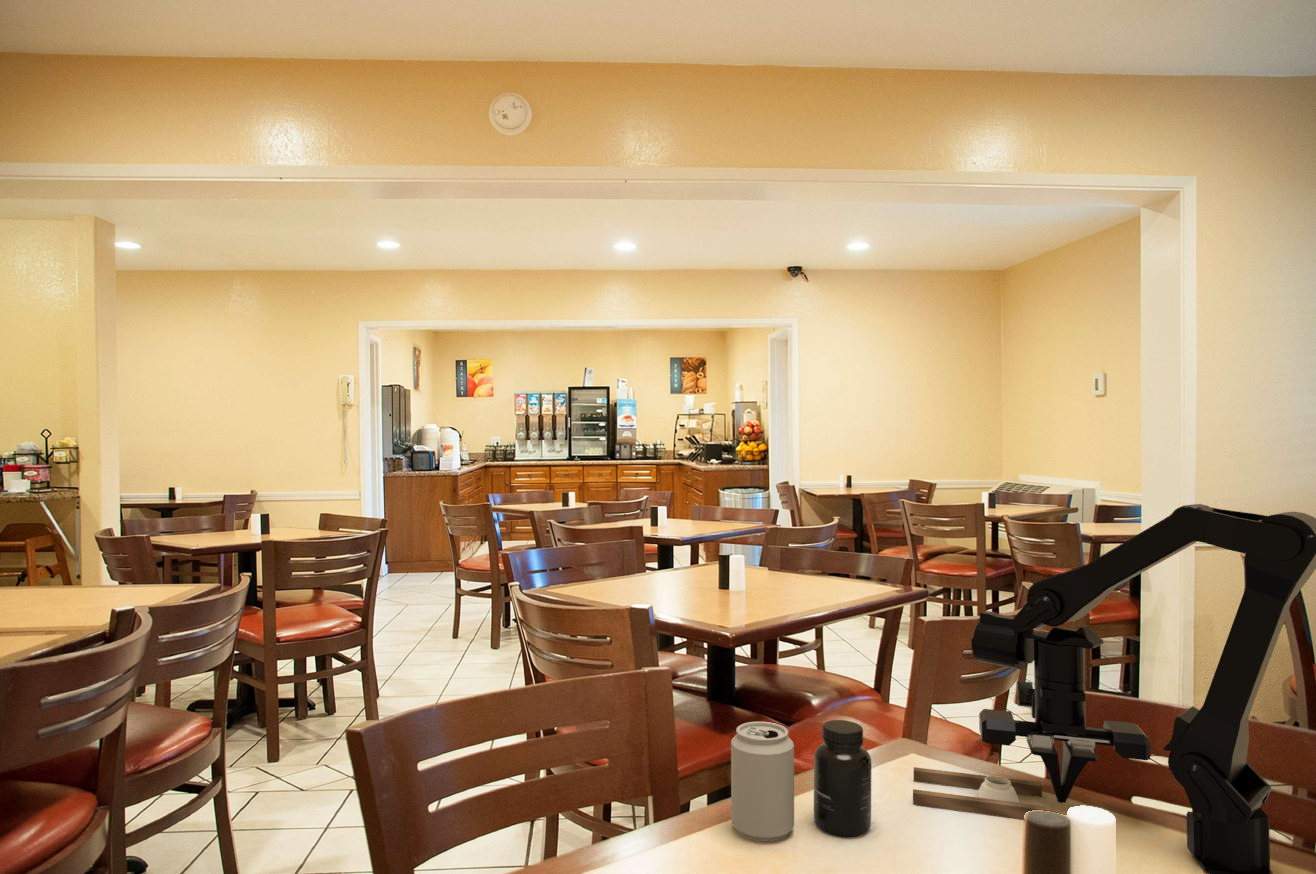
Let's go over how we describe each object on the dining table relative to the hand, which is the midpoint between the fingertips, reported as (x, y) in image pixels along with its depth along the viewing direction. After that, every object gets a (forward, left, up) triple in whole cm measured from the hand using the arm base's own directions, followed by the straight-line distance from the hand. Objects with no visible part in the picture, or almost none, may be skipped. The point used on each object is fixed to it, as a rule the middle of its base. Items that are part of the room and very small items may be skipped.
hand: (1061, 801), depth 99 cm
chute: (+10, 0, -1) cm, 10 cm away
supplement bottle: (+26, +13, -1) cm, 29 cm away
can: (+35, +17, -1) cm, 39 cm away
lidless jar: (+7, 0, -1) cm, 7 cm away
